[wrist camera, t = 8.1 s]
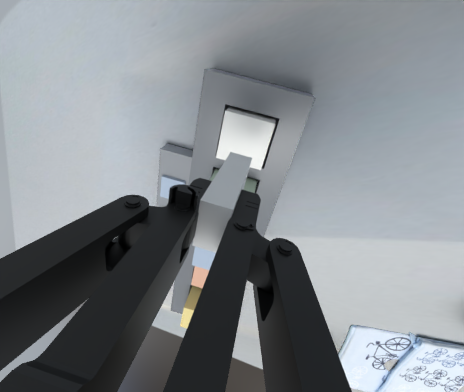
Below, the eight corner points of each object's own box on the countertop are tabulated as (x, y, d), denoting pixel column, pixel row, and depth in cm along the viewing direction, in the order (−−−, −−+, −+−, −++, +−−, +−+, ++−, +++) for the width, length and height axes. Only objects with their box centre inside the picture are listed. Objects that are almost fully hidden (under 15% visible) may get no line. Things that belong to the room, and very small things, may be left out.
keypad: (311, 93, 23) (315, 98, 21) (232, 312, 42) (229, 328, 39) (174, 58, 24) (161, 57, 22) (155, 288, 43) (147, 303, 40)
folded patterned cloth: (430, 400, 45) (437, 415, 43) (319, 375, 48) (321, 388, 46) (492, 343, 36) (504, 359, 34) (349, 315, 38) (353, 329, 36)
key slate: (243, 225, 30) (237, 247, 26) (234, 252, 32) (229, 276, 28) (206, 215, 30) (197, 235, 26) (201, 243, 32) (191, 265, 29)
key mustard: (222, 292, 36) (216, 317, 33) (216, 311, 39) (210, 335, 35) (193, 283, 36) (183, 307, 33) (189, 302, 39) (180, 326, 35)
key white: (276, 115, 25) (275, 124, 21) (263, 156, 27) (260, 170, 24) (232, 103, 25) (225, 110, 22) (224, 145, 27) (216, 157, 24)
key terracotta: (234, 251, 35) (229, 272, 31) (228, 272, 37) (222, 294, 34) (203, 242, 35) (195, 262, 32) (199, 264, 37) (191, 284, 34)
